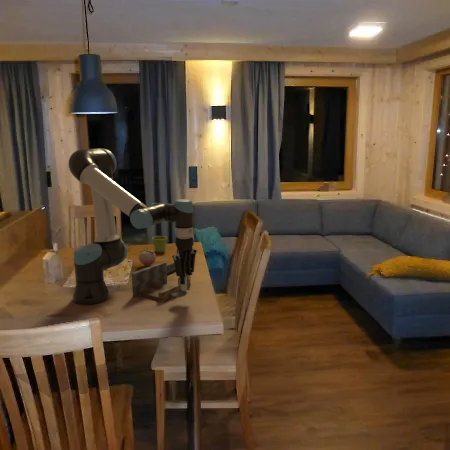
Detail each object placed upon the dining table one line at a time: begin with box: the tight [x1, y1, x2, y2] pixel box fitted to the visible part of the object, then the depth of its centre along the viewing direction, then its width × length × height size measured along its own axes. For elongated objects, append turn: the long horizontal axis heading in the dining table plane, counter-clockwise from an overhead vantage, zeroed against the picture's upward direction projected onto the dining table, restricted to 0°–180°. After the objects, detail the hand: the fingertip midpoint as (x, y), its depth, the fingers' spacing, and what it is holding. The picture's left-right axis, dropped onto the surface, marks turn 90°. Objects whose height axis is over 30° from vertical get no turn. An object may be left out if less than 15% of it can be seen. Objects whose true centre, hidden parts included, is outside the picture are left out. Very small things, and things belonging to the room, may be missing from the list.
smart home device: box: [167, 262, 176, 276], centre depth 223 cm, size 8×2×20 cm
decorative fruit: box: [138, 249, 157, 267], centre depth 227 cm, size 9×8×10 cm
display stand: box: [131, 261, 181, 303], centre depth 188 cm, size 20×15×11 cm
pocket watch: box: [171, 276, 192, 298], centre depth 176 cm, size 8×8×10 cm
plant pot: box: [151, 235, 168, 253], centre depth 256 cm, size 9×9×9 cm
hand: (185, 290), depth 178 cm, fingers closed on pocket watch
